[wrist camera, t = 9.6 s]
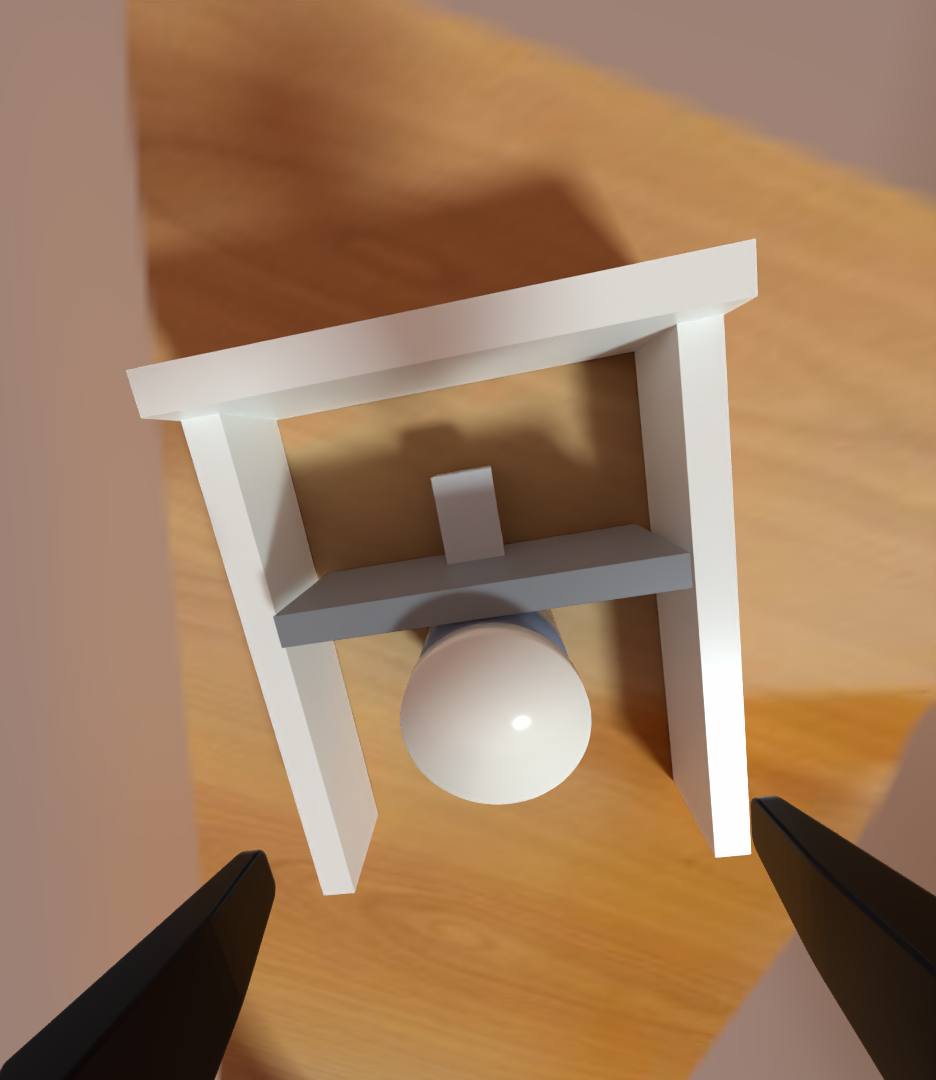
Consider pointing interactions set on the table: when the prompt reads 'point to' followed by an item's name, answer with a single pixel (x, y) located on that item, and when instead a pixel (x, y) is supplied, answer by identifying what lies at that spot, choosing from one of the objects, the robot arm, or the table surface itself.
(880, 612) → the table surface
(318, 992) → the table surface
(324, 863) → the lane
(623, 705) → the table surface
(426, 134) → the table surface
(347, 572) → the pusher
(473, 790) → the jar
